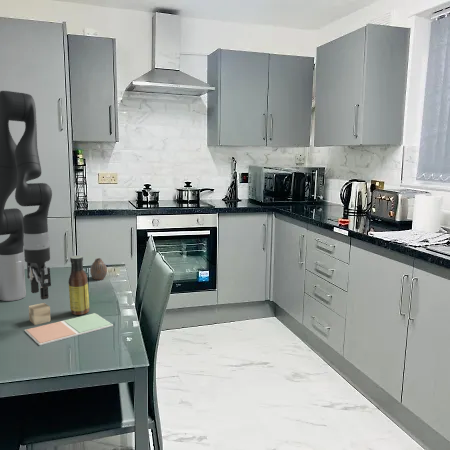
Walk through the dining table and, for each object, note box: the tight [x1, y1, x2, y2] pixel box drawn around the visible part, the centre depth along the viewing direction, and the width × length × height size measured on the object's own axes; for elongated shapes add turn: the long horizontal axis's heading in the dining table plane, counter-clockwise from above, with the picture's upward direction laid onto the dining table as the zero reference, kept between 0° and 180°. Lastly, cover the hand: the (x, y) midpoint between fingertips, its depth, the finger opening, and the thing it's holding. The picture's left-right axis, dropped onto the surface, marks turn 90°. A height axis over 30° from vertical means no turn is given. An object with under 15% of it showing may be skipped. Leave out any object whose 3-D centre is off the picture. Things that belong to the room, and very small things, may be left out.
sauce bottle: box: [68, 255, 90, 316], centre depth 152 cm, size 7×6×20 cm
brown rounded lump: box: [89, 257, 108, 281], centre depth 192 cm, size 7×7×9 cm
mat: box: [24, 312, 114, 346], centre depth 140 cm, size 13×23×1 cm, turn 131°
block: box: [28, 302, 51, 326], centre depth 145 cm, size 5×5×5 cm
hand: (39, 295), depth 144 cm, fingers open, 8 cm apart
